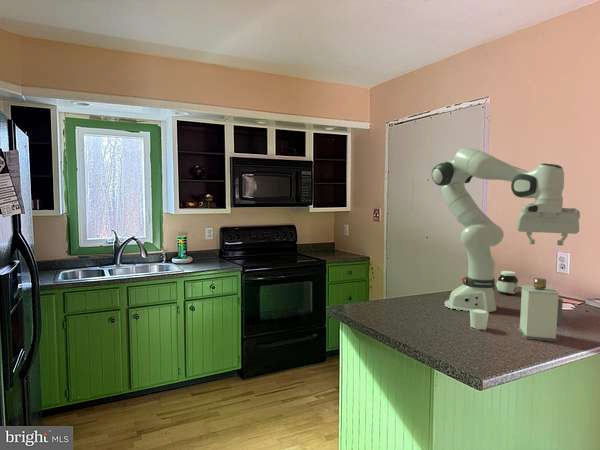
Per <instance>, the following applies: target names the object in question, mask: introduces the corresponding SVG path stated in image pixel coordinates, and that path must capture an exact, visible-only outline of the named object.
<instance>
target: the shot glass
mask: <svg viewBox="0 0 600 450" xmlns="http://www.w3.org/2000/svg"><path fill="white" fill-rule="evenodd" d="M489 313H490V312H488V311H486V310H482V309H471V310H470V312H469V319H470V320H469V321H470V322H469V323H470V328H471V327H473V328H476V329H486V330H487V325H488V321H489V320H488V319H489Z"/></svg>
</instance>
